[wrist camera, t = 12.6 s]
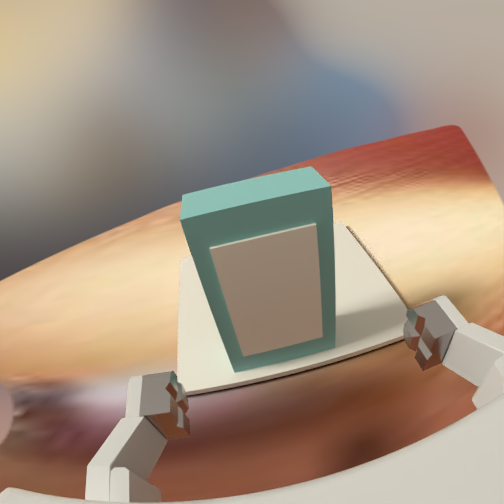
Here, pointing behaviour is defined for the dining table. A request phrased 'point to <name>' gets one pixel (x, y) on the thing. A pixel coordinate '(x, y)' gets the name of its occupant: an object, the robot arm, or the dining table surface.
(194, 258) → the slab
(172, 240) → the dining table surface
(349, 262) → the mat
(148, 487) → the robot arm
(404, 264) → the dining table surface
